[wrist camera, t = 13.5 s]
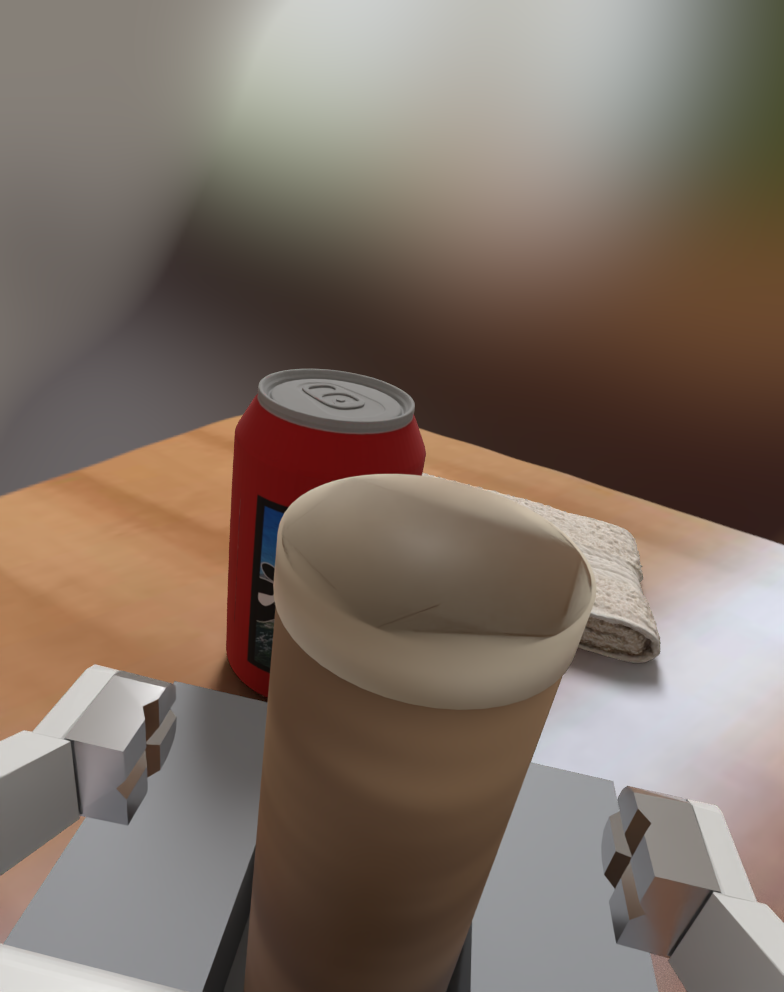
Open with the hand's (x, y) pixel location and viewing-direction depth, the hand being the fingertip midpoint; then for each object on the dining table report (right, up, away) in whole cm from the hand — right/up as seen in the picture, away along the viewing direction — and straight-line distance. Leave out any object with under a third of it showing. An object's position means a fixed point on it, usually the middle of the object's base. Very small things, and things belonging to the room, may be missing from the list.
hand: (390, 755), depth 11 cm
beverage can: (-4, -3, +15) cm, 16 cm away
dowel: (-2, -8, +3) cm, 9 cm away
